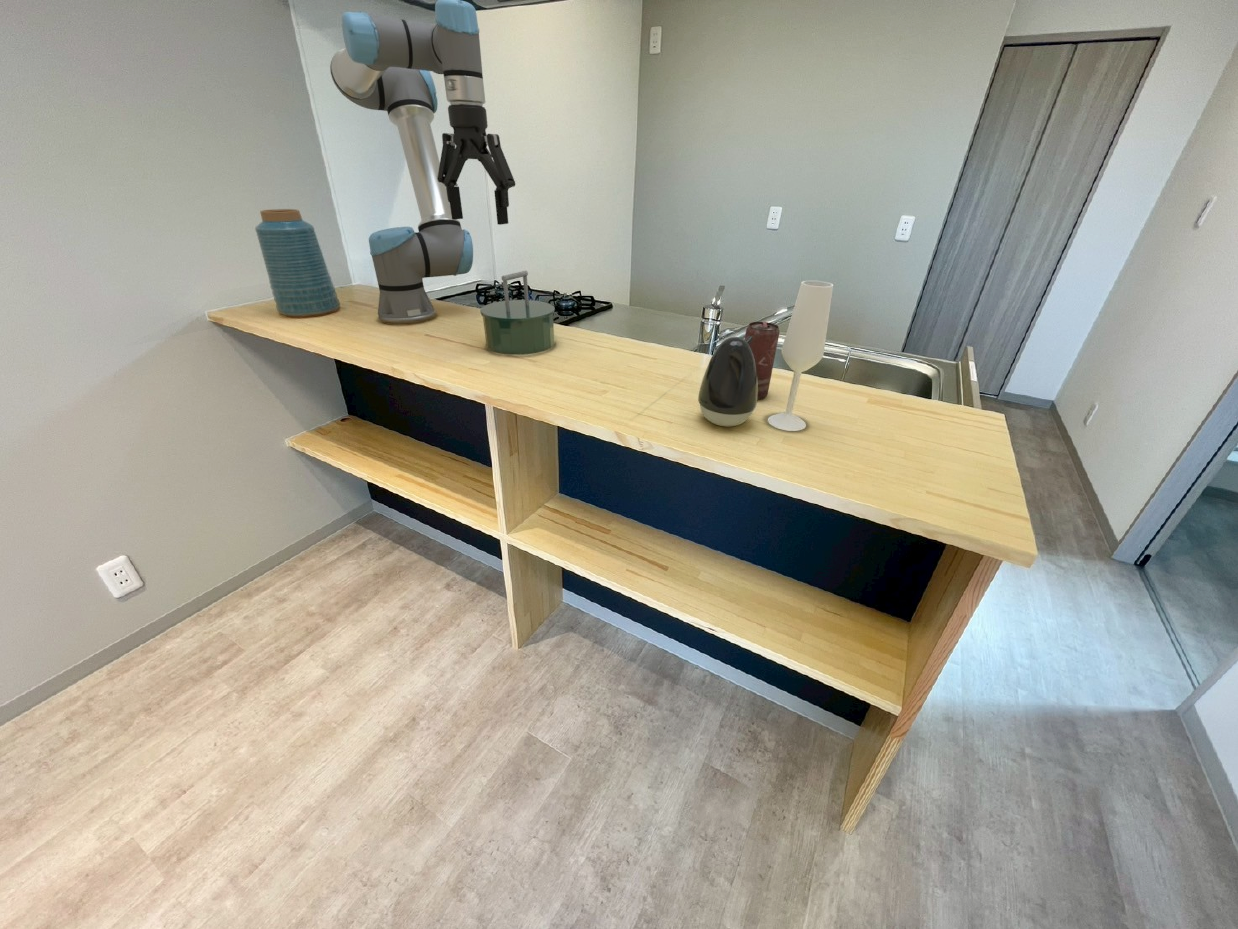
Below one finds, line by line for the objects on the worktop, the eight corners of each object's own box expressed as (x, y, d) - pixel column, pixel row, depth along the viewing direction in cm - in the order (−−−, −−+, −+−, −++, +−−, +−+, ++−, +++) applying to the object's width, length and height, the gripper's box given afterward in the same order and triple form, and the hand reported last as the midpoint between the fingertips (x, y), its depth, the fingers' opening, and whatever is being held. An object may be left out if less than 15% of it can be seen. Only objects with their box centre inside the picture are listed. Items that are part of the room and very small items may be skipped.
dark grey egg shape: (764, 419, 89) (780, 337, 81) (733, 439, 83) (747, 351, 75) (716, 403, 95) (727, 324, 87) (684, 420, 89) (692, 337, 81)
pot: (472, 348, 120) (467, 313, 115) (517, 332, 132) (514, 299, 128) (525, 361, 113) (522, 324, 108) (567, 342, 125) (566, 308, 121)
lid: (464, 316, 115) (458, 274, 111) (514, 301, 129) (510, 263, 124) (523, 328, 108) (519, 284, 103) (569, 311, 121) (567, 271, 116)
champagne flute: (764, 413, 92) (789, 278, 79) (800, 414, 91) (831, 279, 79) (772, 430, 86) (801, 287, 73) (811, 431, 86) (846, 289, 73)
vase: (332, 317, 140) (302, 213, 126) (269, 319, 137) (231, 213, 123) (347, 303, 154) (322, 208, 140) (290, 305, 151) (259, 207, 137)
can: (764, 388, 102) (777, 320, 94) (769, 401, 96) (783, 330, 89) (734, 386, 102) (745, 319, 95) (738, 399, 97) (749, 328, 90)
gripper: (408, 104, 101) (427, 218, 113) (501, 102, 91) (511, 227, 103) (436, 107, 107) (451, 215, 118) (527, 105, 97) (534, 224, 108)
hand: (479, 221), depth 110 cm, fingers open, 13 cm apart
